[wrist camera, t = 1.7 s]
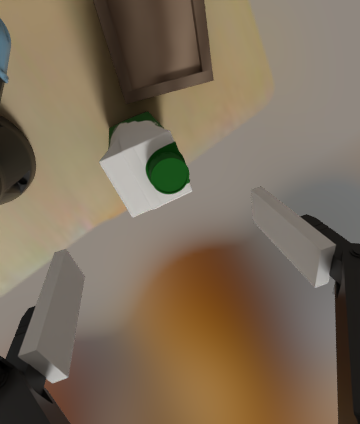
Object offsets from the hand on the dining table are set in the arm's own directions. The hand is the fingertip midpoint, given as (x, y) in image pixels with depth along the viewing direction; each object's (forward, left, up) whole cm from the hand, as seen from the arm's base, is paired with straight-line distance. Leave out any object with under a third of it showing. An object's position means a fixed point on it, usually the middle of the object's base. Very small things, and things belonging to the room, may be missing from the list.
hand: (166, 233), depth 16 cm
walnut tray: (+7, +13, -28) cm, 32 cm away
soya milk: (0, 0, -29) cm, 29 cm away
